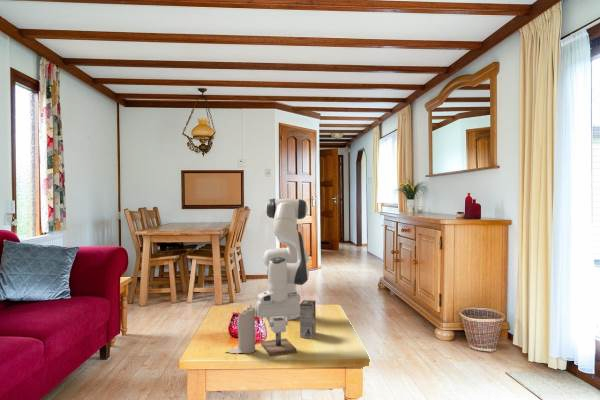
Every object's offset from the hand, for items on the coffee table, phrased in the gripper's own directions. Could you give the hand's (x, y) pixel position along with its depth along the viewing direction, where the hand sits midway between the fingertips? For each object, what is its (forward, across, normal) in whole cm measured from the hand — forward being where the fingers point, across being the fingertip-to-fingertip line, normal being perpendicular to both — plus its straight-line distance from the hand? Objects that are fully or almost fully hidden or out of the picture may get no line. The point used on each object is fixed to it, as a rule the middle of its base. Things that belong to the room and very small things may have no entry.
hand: (278, 325), depth 188 cm
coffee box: (+10, -19, -13) cm, 25 cm away
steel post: (+9, 0, 0) cm, 9 cm away
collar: (+2, 0, 0) cm, 2 cm away
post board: (+10, 0, 0) cm, 10 cm away
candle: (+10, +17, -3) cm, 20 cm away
